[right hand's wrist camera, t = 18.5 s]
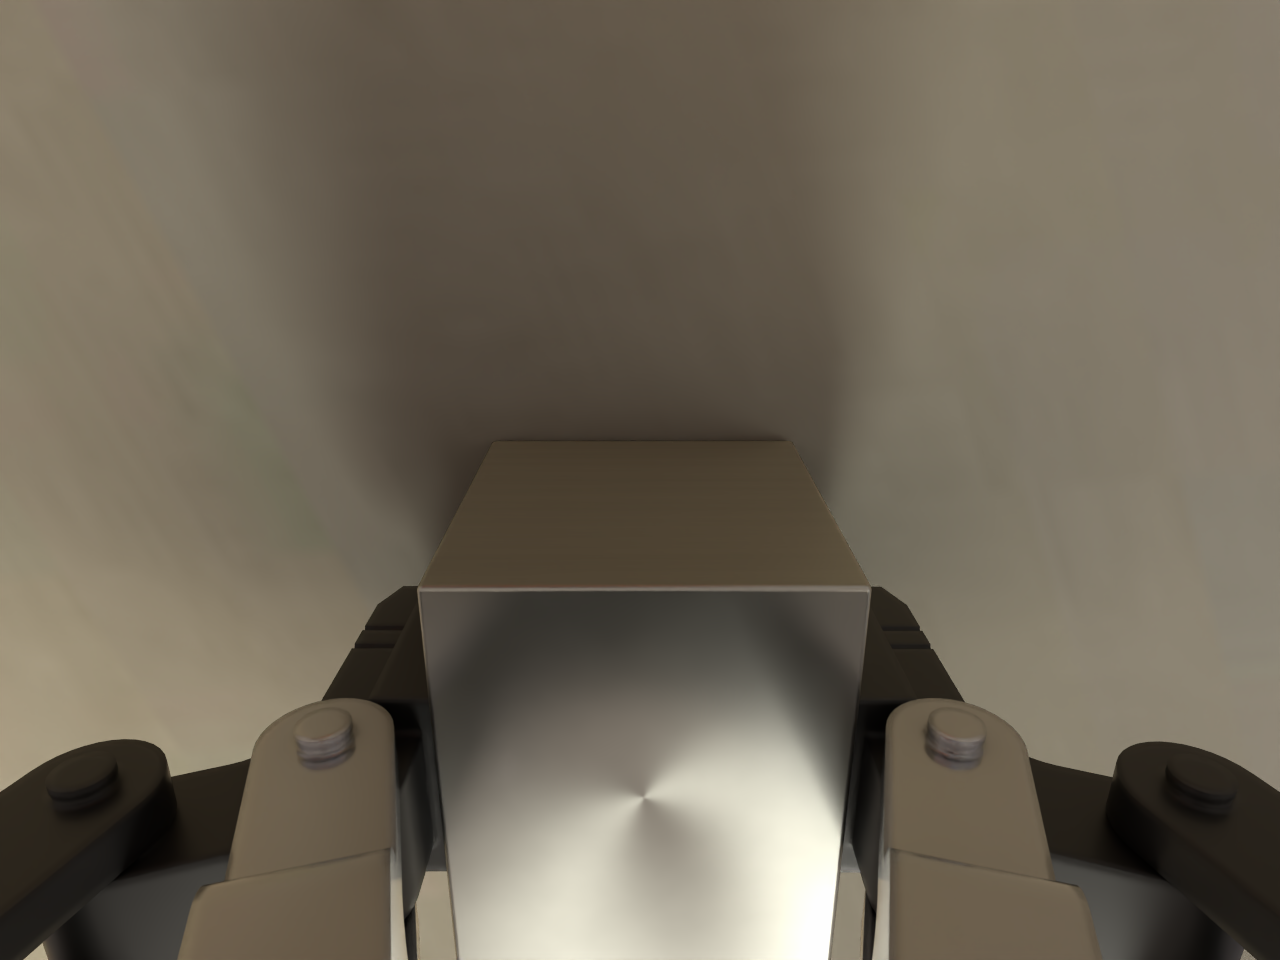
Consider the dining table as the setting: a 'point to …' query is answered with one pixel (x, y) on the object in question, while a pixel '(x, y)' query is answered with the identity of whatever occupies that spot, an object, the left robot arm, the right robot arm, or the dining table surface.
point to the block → (643, 702)
